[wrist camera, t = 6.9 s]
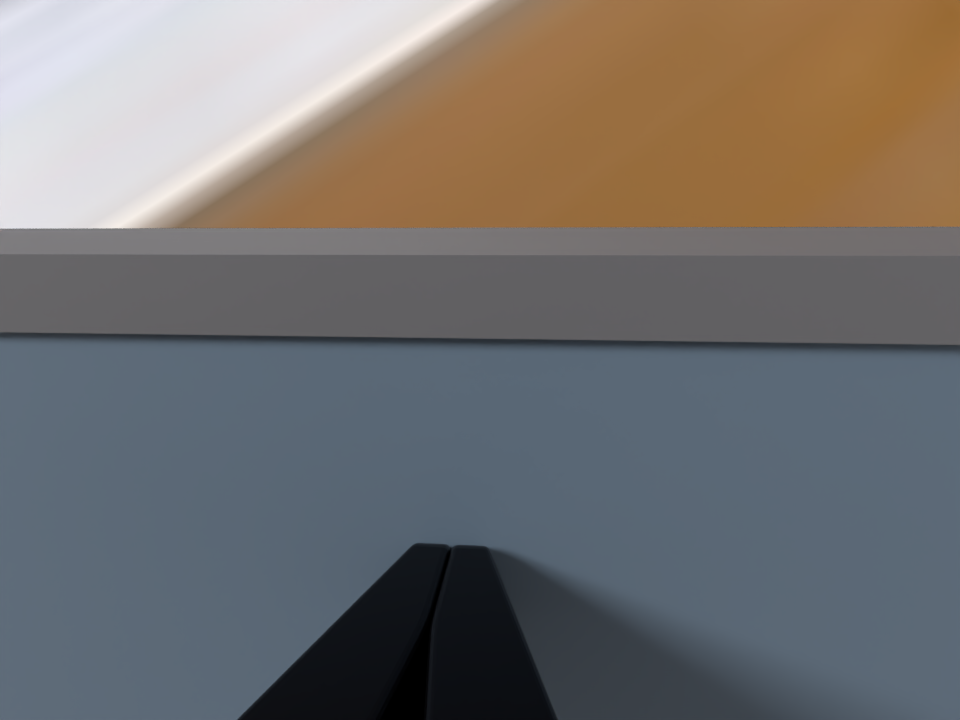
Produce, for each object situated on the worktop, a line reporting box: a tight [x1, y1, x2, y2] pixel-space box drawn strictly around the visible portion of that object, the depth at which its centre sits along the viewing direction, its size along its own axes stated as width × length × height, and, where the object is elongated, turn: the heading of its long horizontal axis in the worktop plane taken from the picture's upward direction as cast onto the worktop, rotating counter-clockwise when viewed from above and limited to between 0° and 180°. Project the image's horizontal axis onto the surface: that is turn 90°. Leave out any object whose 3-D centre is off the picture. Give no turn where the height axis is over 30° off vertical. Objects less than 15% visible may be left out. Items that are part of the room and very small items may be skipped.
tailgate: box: [0, 227, 960, 720], centre depth 9 cm, size 1×14×10 cm
